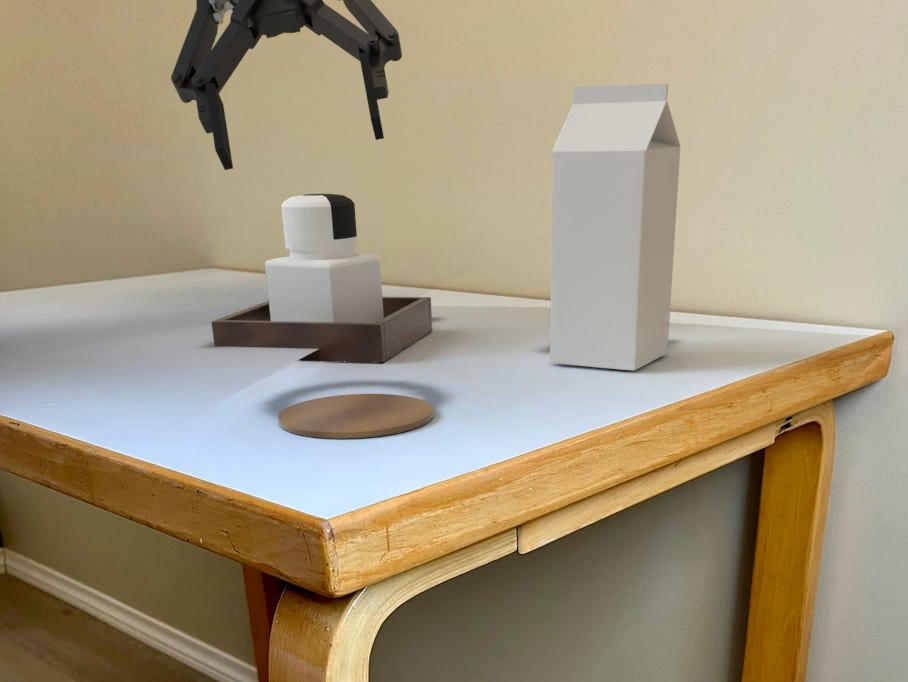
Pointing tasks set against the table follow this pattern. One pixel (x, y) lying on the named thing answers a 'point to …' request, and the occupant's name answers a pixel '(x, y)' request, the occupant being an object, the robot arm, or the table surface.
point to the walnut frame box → (330, 332)
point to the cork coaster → (356, 416)
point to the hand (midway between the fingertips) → (300, 144)
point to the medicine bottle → (323, 265)
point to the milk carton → (613, 227)
